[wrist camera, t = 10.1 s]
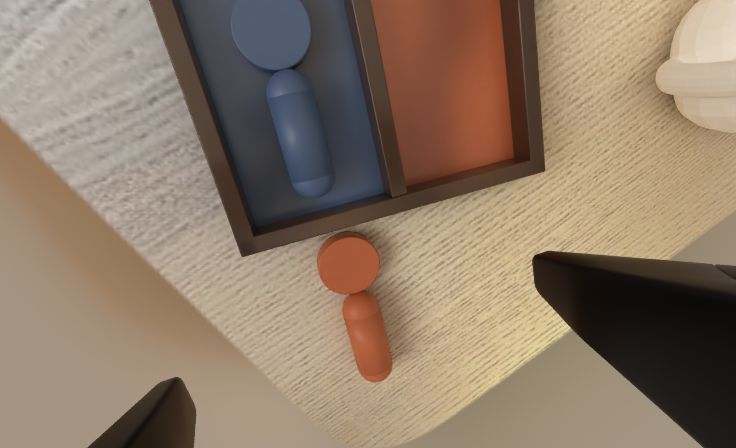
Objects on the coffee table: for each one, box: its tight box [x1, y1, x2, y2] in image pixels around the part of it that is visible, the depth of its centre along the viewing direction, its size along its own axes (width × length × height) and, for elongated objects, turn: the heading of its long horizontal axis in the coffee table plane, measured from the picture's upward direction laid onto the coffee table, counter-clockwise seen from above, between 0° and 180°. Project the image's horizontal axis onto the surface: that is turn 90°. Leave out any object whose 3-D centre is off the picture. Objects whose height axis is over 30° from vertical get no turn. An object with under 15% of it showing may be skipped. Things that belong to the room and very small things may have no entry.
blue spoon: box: [230, 0, 335, 198], centre depth 16 cm, size 9×3×2 cm, turn 13°
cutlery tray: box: [149, 0, 545, 257], centre depth 16 cm, size 16×14×2 cm
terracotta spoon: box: [317, 232, 393, 382], centre depth 20 cm, size 9×3×2 cm, turn 13°
